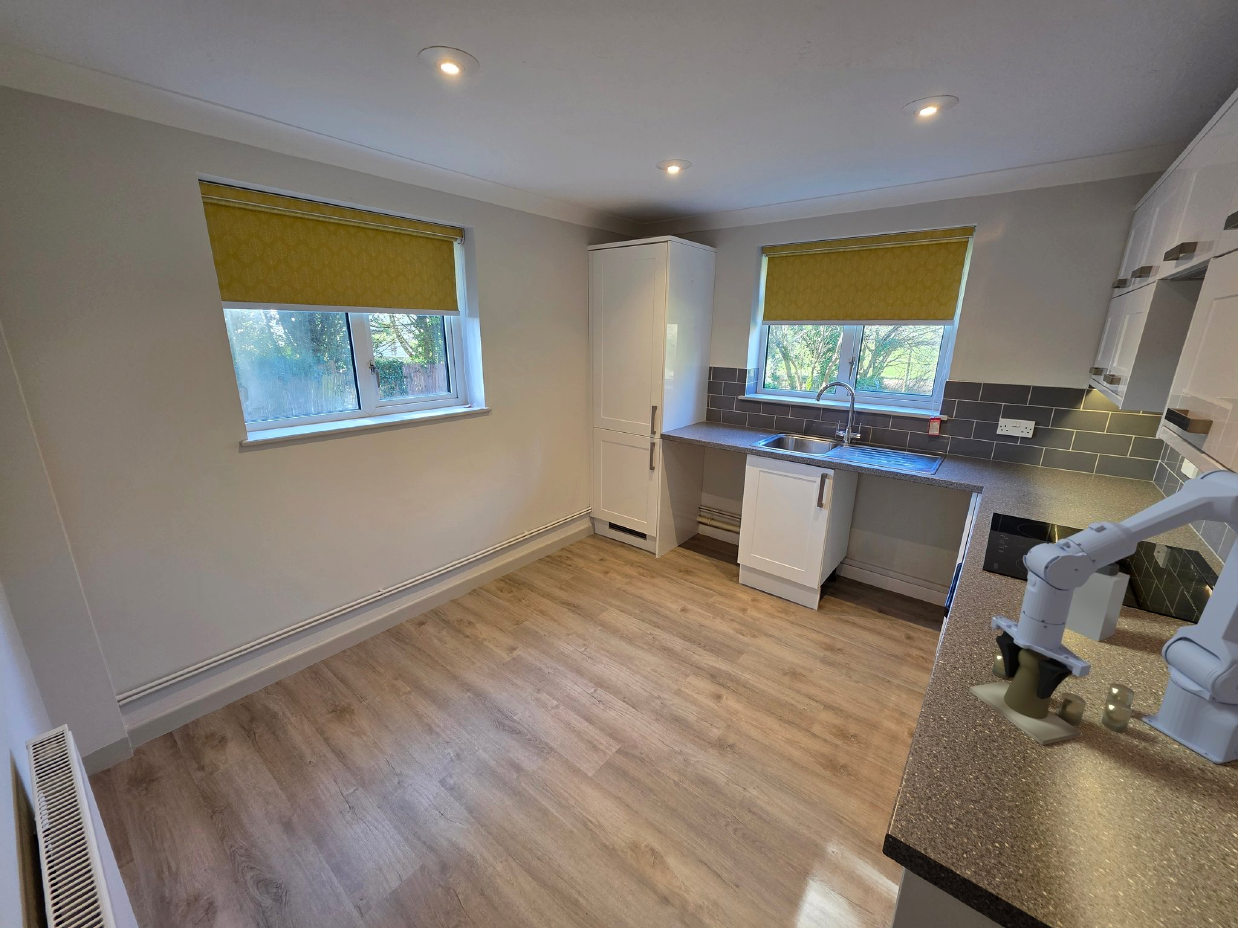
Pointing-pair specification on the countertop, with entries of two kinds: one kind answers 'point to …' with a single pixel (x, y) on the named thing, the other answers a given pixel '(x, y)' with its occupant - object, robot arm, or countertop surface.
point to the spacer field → (1074, 705)
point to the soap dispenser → (1098, 603)
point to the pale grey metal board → (1036, 728)
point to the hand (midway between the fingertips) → (1026, 686)
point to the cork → (1027, 686)
